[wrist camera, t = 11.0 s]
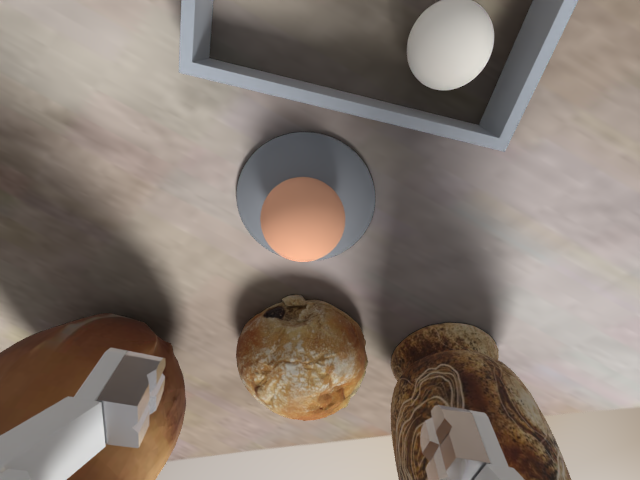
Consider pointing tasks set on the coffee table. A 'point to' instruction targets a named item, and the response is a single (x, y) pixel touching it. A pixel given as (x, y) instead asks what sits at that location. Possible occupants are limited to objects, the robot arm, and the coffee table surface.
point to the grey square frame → (492, 132)
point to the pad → (315, 162)
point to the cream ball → (450, 44)
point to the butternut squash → (71, 372)
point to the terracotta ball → (302, 219)
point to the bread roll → (302, 358)
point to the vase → (467, 400)
